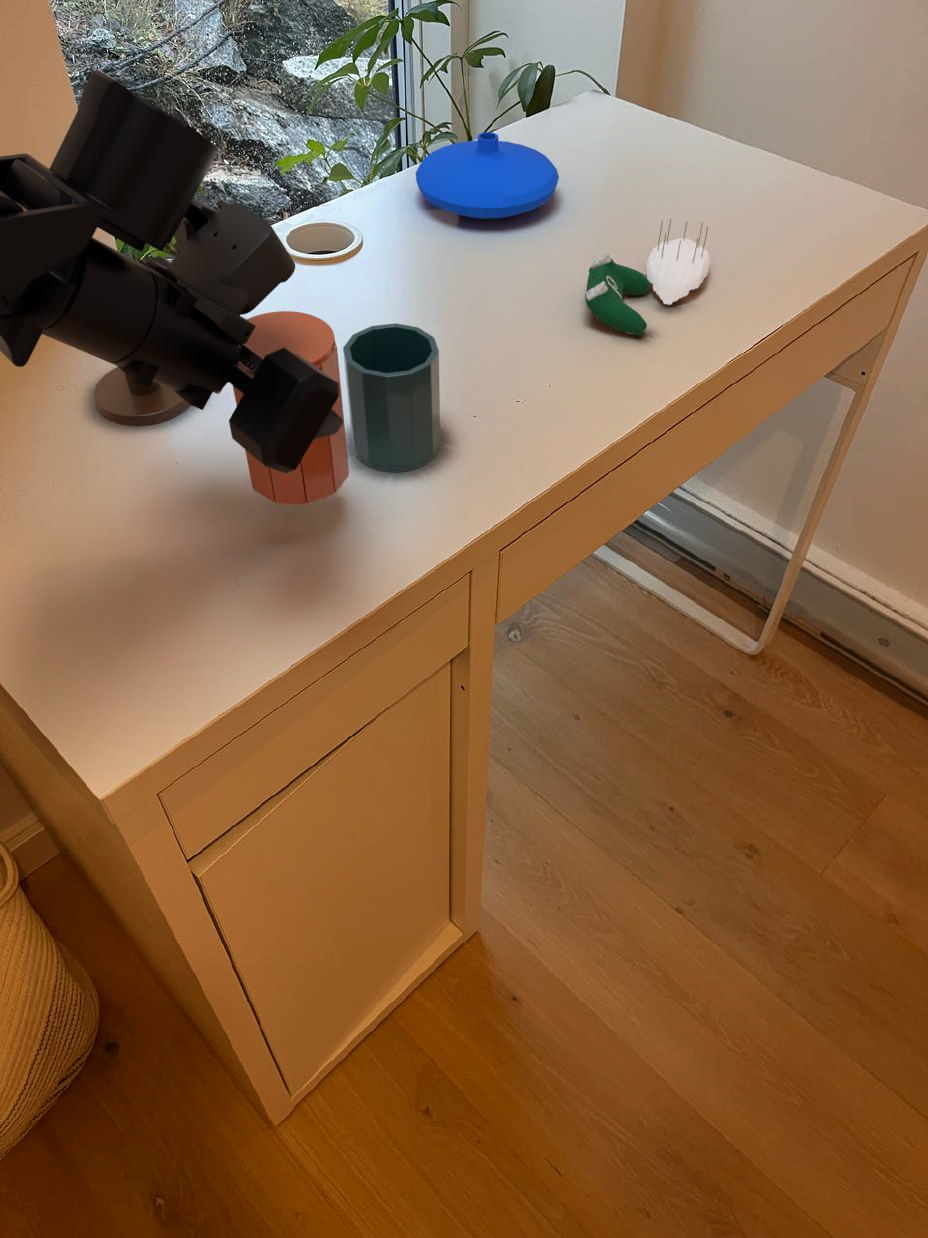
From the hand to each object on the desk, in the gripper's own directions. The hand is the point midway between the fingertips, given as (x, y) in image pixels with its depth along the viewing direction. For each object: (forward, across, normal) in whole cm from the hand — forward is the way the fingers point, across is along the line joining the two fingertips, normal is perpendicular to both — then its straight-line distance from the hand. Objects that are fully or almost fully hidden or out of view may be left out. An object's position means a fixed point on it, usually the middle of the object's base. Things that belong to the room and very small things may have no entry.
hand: (306, 401), depth 67 cm
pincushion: (+40, +5, -27) cm, 49 cm away
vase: (+38, +29, -24) cm, 54 cm away
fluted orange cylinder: (+3, 0, +5) cm, 6 cm away
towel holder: (+5, +22, +9) cm, 24 cm away
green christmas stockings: (+34, +4, -20) cm, 39 cm away
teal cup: (+13, +2, 0) cm, 13 cm away
